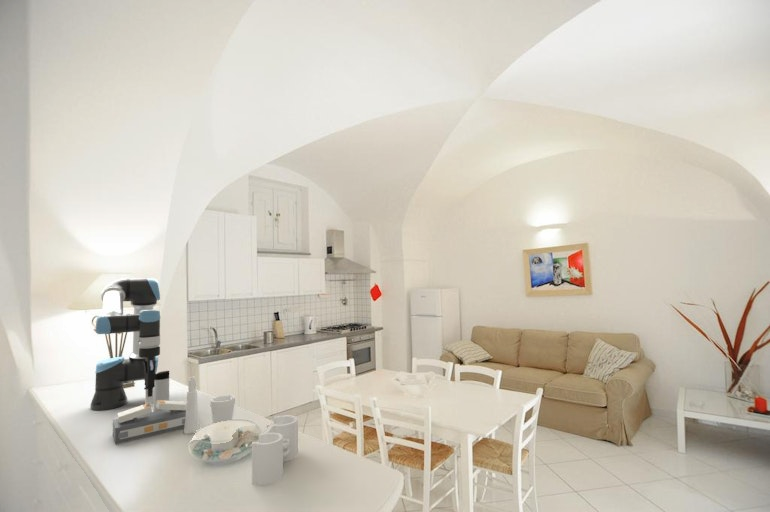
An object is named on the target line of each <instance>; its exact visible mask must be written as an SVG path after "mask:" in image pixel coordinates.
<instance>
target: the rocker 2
mask: <svg viewBox="0 0 770 512" xmlns="http://www.w3.org/2000/svg"><path fill="white" fill-rule="evenodd" d="M186 403H187V401H181V400H169V401H166V400H157V403H156V407H157V408H158V409H160V410H186Z"/></svg>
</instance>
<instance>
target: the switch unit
mask: <svg viewBox="0 0 770 512" xmlns="http://www.w3.org/2000/svg"><path fill="white" fill-rule="evenodd" d="M185 418H186V410H159V411H154V412H153V411H152V412H151V413H148V414H145V415H142V416H139V417H136V418H133V419H130V420H127V421H125V422H122V423H119V420H118V418H116V419H112V437H113V443H114V444H115V445H119V444H123V443H127V442H131V441H134V440H140V439H144V438H147V437H151V436H152V437H153V436H156V435H160V434H165V433H169V432H172V431H177V430H181V429H184V427H185Z"/></svg>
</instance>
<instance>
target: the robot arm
mask: <svg viewBox="0 0 770 512" xmlns="http://www.w3.org/2000/svg"><path fill="white" fill-rule="evenodd" d="M160 292H161V291H160V286H159V282H158V280H157V278H150V277H149V278H147V277H145V278H120V279H117V280H113V281H112V282H110V283H109V284H107V285H106V286H105V287H104V288H103V289H102V291H101V294H100V298H101V301H102V302H103V303H102V304H103V305H102V315H100V316H98V317H96V319H95V320H96V321H95V322H96V323H95V333H96V334H97V335H110V334H121V333H132V334H133V337H132V352H131V353H130V354H129V355H128V357H129V358H126V359H125V356H115V357H112V358H106V359H103V360H101V361H99V362H98V363H96V366H95V371H94V374H95V388H94V389H95V390H94V391H95V392H94V394H93V397H92V400H91V402H90V410H92V411H104V410H111V409H115V408H119V407H122V406H124V405H127V403H128V397H127V395H126V390H125V389H124V384H125V383H129V382H137V381H144V389H143V390H145V393H144V394H145V396H144V397H145V400H144V401H145V402H144V403H145V404H146V405H149V404H150V405H154V386H155V385H154V383H155V373H156V374H157V373H158V372H157V371H158V365H159V357H158V356H159V355H161V346H160V344H161V312H160V310H159V309H154V307H155V306H156V305H157V304H158V303H157V302H158V301H160V300H161V294H160ZM124 302H130V306H132V307H133V314H124Z"/></svg>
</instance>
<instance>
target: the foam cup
mask: <svg viewBox="0 0 770 512" xmlns="http://www.w3.org/2000/svg"><path fill="white" fill-rule="evenodd" d="M235 403H236V395H234V394H233V395H232V394H224V395H223V394H222V395H218V396H215V397H212V398H210V403H209V404H210V409H211V417H212V424H213V423H217V422H221V421H227V420H232V421H233V416H234V409H235Z"/></svg>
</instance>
